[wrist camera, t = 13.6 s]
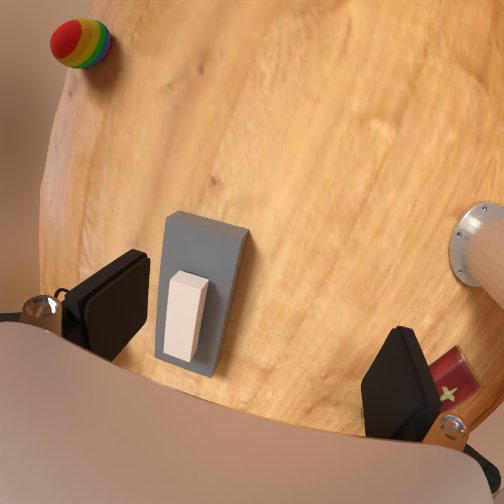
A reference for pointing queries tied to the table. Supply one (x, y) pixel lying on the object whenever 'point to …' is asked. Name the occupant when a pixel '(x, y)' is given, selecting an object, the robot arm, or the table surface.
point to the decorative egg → (80, 43)
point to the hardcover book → (453, 379)
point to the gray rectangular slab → (207, 265)
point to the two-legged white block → (184, 314)
